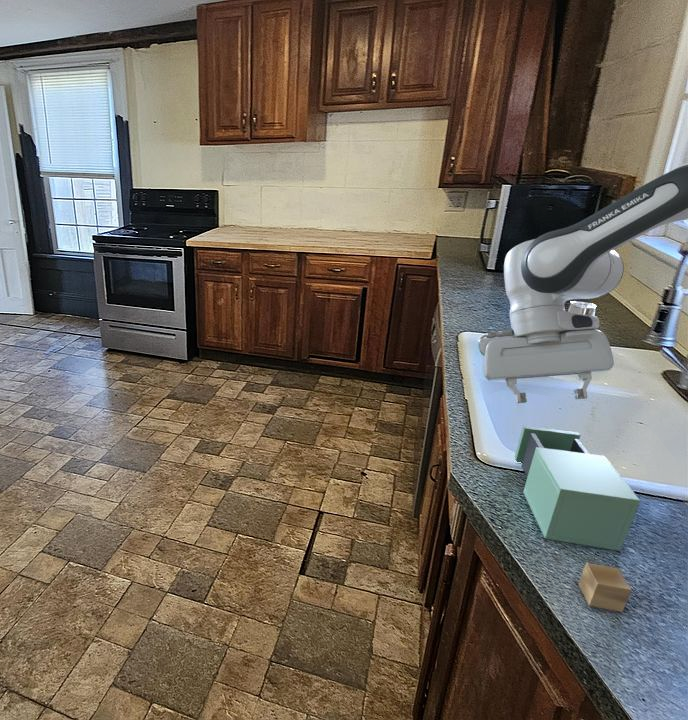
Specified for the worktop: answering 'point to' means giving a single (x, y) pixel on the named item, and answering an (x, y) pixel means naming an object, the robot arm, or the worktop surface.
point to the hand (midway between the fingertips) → (550, 401)
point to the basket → (545, 443)
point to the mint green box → (580, 498)
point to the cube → (604, 587)
